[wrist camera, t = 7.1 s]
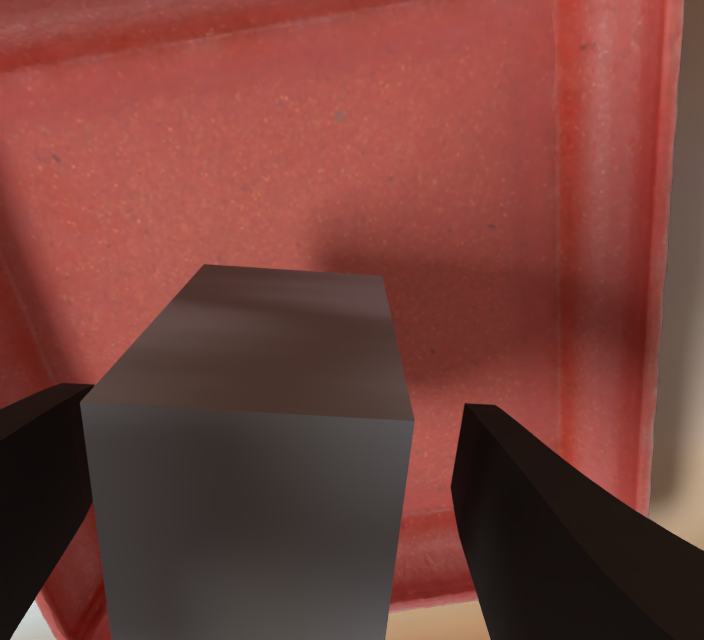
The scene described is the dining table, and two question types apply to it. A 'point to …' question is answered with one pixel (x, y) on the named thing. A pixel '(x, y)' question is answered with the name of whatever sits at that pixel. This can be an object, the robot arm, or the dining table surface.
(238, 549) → the charcoal block
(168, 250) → the plant saucer
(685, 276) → the dining table surface
